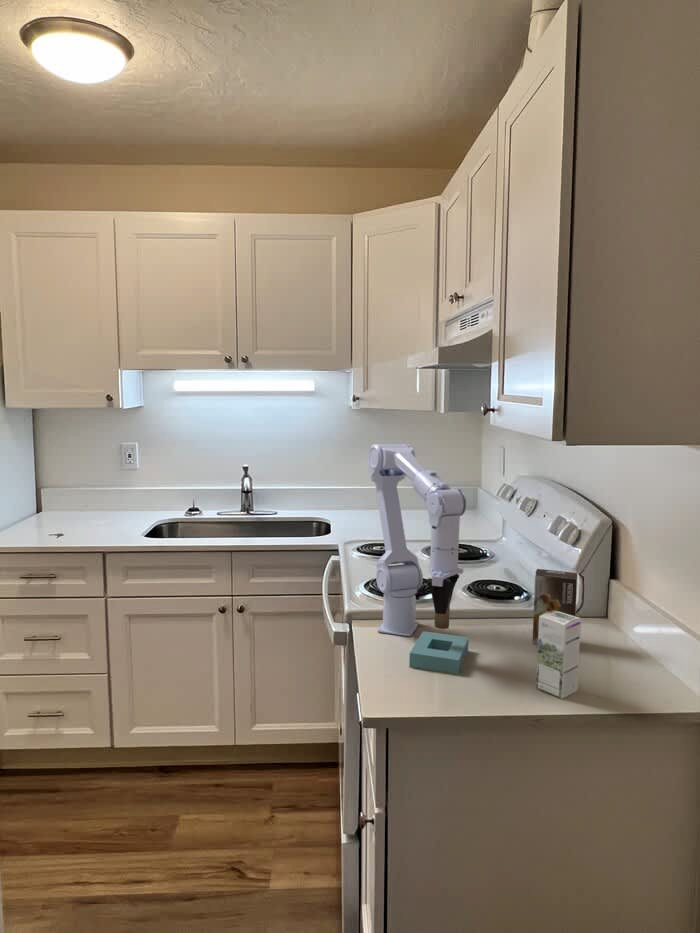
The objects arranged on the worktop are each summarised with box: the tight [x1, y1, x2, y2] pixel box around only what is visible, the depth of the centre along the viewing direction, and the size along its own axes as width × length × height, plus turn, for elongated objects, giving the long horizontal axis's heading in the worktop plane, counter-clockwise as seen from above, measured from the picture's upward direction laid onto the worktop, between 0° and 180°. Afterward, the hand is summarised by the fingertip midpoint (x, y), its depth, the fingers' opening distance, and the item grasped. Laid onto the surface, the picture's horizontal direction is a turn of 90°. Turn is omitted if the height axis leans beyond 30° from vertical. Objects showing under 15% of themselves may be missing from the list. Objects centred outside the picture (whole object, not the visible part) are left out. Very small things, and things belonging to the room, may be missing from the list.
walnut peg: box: [434, 578, 451, 630], centre depth 133 cm, size 3×3×10 cm
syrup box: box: [535, 611, 582, 700], centre depth 120 cm, size 6×6×14 cm
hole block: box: [408, 630, 470, 676], centre depth 134 cm, size 13×10×3 cm
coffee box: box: [531, 568, 578, 646], centre depth 144 cm, size 9×6×16 cm
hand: (442, 610), depth 133 cm, fingers closed on walnut peg, 3 cm apart
